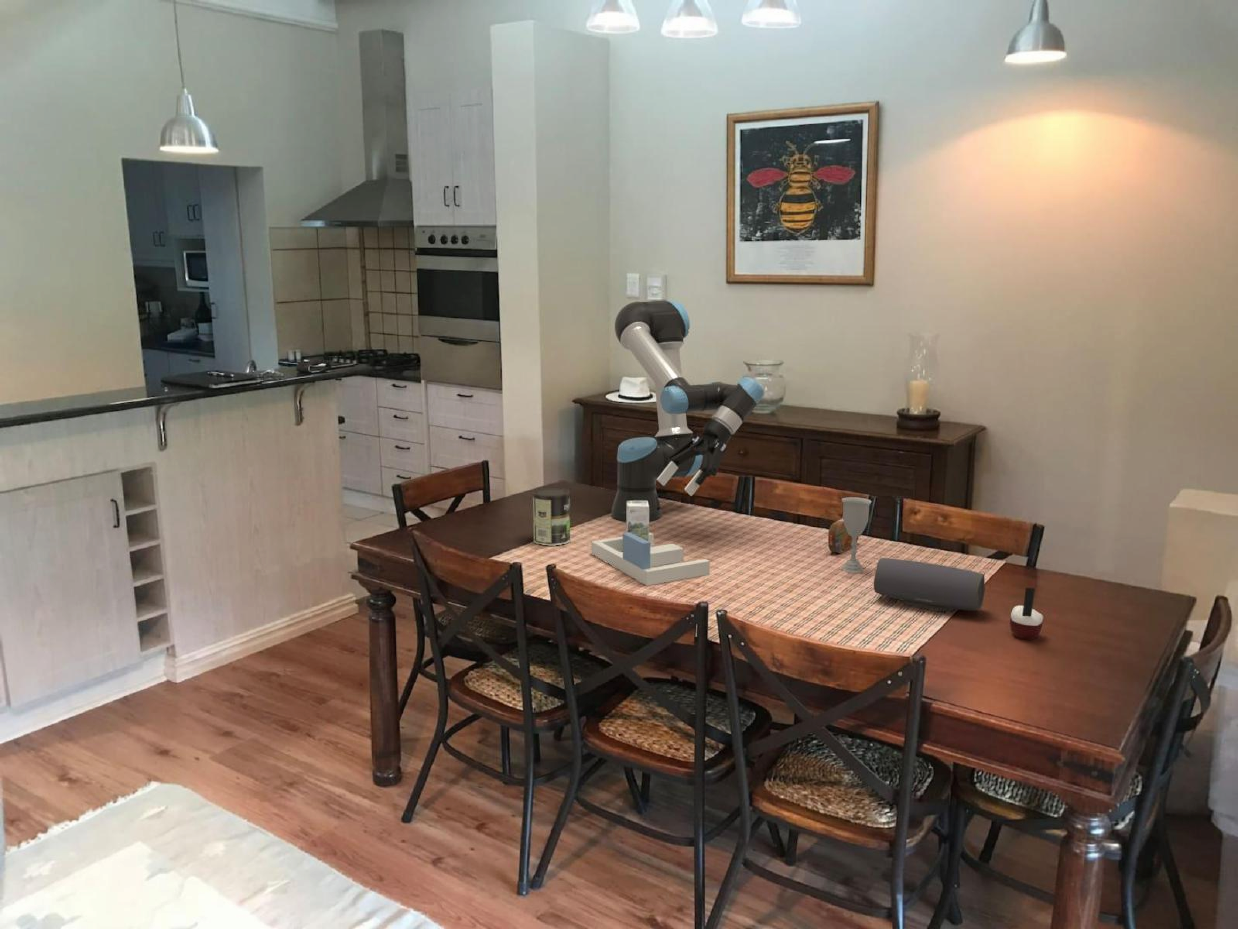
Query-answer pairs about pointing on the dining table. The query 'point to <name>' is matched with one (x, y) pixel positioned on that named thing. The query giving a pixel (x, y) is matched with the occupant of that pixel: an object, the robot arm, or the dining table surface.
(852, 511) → the chalice
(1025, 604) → the cocoa
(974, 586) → the bluetooth speaker
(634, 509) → the syrup box
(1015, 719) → the dining table surface
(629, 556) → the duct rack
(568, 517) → the coffee can
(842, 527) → the brown stone slab
